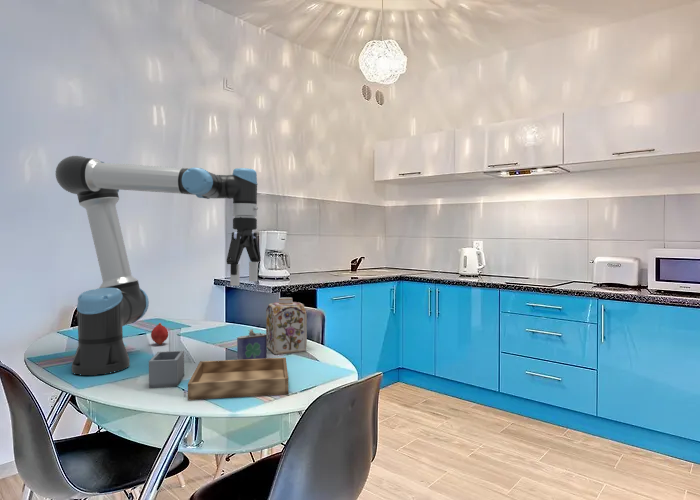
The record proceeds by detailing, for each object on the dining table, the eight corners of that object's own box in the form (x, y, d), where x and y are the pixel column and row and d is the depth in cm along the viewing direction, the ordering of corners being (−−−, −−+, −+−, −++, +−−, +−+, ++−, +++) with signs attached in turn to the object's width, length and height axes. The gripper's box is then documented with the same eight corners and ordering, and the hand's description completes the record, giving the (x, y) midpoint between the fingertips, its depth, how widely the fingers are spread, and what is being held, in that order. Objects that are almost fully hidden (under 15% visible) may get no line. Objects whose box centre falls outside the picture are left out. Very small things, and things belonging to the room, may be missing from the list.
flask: (238, 367, 139) (238, 332, 139) (235, 365, 142) (235, 330, 142) (267, 363, 144) (267, 328, 144) (264, 361, 147) (264, 327, 146)
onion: (147, 345, 167) (147, 323, 167) (159, 342, 173) (159, 320, 172) (160, 347, 165) (159, 324, 165) (171, 343, 170) (171, 321, 170)
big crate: (187, 400, 112) (187, 383, 112) (200, 375, 132) (200, 361, 132) (288, 394, 116) (288, 378, 116) (285, 371, 136) (285, 357, 136)
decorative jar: (273, 355, 154) (273, 301, 153) (265, 347, 165) (265, 296, 164) (308, 351, 159) (307, 299, 158) (297, 344, 169) (297, 294, 169)
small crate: (149, 388, 121) (148, 361, 121) (158, 376, 131) (157, 351, 131) (177, 386, 122) (176, 360, 122) (184, 375, 132) (183, 350, 132)
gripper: (238, 215, 137) (238, 287, 137) (270, 218, 161) (270, 280, 162) (215, 215, 138) (214, 286, 139) (250, 218, 163) (249, 279, 163)
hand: (244, 283), depth 150 cm, fingers open, 13 cm apart
